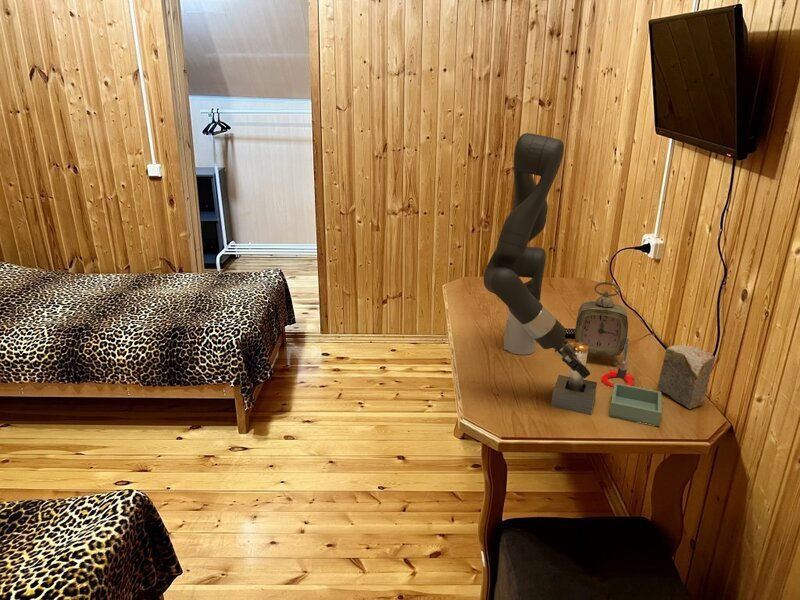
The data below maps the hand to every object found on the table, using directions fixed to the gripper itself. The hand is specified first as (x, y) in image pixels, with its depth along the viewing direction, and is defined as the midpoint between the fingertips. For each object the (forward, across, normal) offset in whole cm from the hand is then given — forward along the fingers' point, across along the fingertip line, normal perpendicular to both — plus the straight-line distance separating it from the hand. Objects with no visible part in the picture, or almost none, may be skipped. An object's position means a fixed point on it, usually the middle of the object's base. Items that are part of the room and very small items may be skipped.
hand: (584, 371), depth 148 cm
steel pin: (+4, 0, +7) cm, 8 cm away
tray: (+15, -3, -3) cm, 16 cm away
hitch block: (+5, 0, +8) cm, 9 cm away
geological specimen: (+26, +4, -13) cm, 29 cm away
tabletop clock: (+14, +27, -1) cm, 31 cm away
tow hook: (+16, +12, -3) cm, 20 cm away
